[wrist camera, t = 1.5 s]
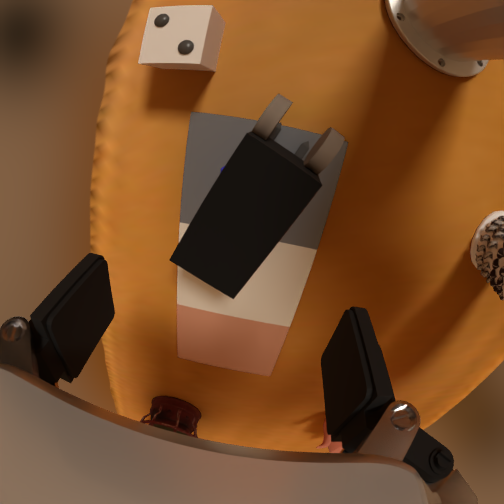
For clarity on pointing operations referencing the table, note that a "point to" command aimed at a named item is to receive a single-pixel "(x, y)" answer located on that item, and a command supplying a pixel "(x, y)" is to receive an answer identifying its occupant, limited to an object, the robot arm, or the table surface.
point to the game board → (266, 276)
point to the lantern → (173, 415)
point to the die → (182, 38)
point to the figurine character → (253, 203)
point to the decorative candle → (490, 250)
